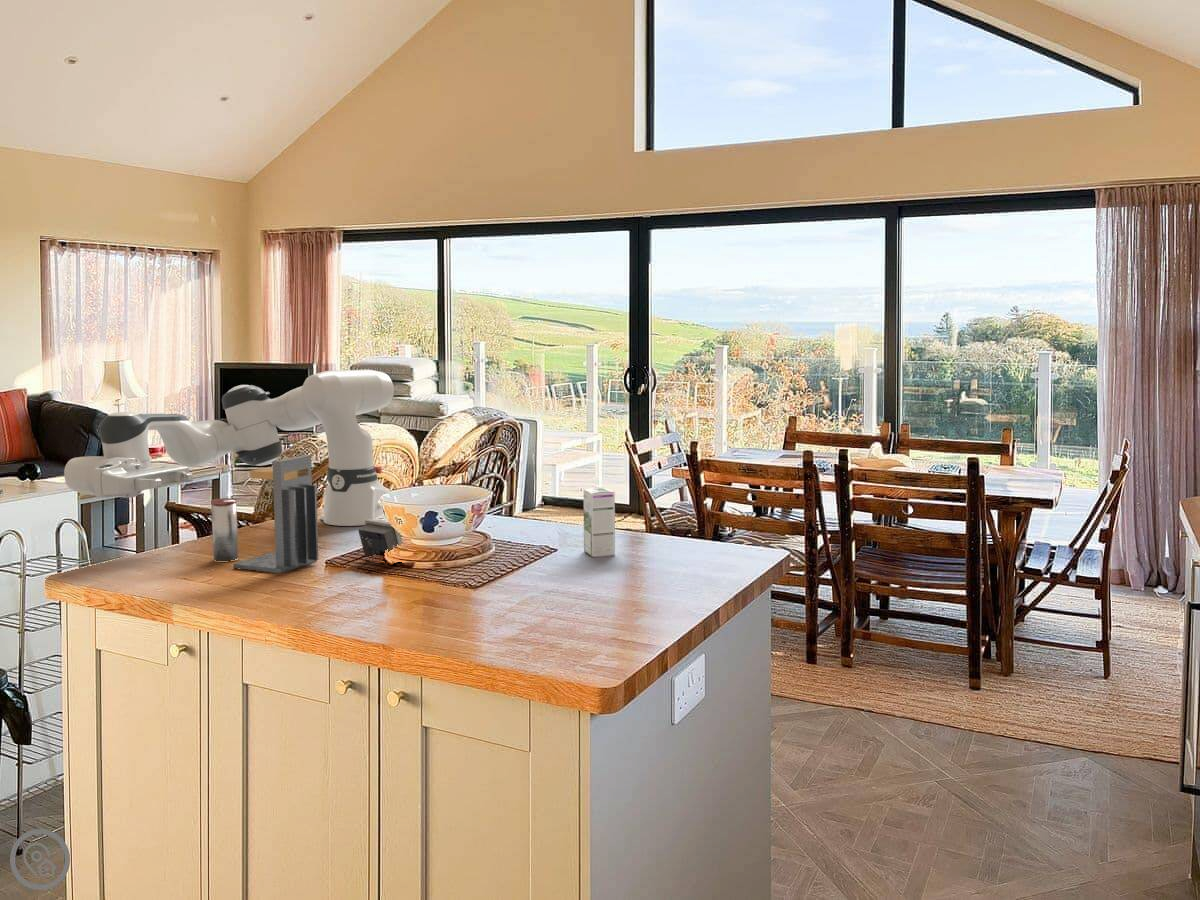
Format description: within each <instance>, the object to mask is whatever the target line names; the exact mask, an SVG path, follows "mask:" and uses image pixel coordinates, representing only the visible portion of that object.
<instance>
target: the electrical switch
mask: <svg viewBox="0 0 1200 900" xmlns="http://www.w3.org/2000/svg"><path fill="white" fill-rule="evenodd" d="M358 535H359V539H360V542H361V546H362V550H363V553H364V556H365V557H369V556H373V555H375V554H376V555H384V553H385V550H387V549H388V552H389V551H390V550H392V549H393V547H395V546H397V544H398V545H401V544H402V543H403V539H402V535H401V532H400V533H398V532H397V531H396V530H395V529H394V528H393V527H392V526H391V524H390V523H389V521H388V522H384V521H378V520H371V519H368V520H365V525H362V527H360V528H358ZM384 556H385V555H384ZM365 557H364V558H365Z"/></svg>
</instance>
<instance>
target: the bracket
mask: <svg viewBox="0 0 1200 900" xmlns="http://www.w3.org/2000/svg"><path fill="white" fill-rule="evenodd" d="M271 464H272V465H271V466H267V467H263V468H258V469H257V468H256V469H251V470H250V471H249V478H250V479H256V480H257V479H258V480H259V479H260V480H272V484H273V485H272V488H273V490H272V491H273V511H274V513H273V515H274V519H273V520H274V542H275V543H274V545H275V546H274V547H275V551H270V552H266V553H264V554H263V553H262V554H260V555H256V556H253V557H251V558H248V559H244V560H241V561H238V562H235V563H233V568H240V569H239V570H241V569H248V570H247V571H250V570H256V571H255V572H260V571H263V573H269V572H270V573H272V574H279V575H282V574H284V573H287V572H290V571H293V570H296V569H299V568H301V567H304V566H307V565H310V564H313V563H316V562H318V560H319V535H318V533H319V532H318V503H317V502H318V500H317V499H318V498H317V495H318V494H317V484H312V483H313V482H312V481H313V479H312V455H307V454H306V455H305V454H304V455H303V454H302V455H297V456H296V455H295V456H293V457H292V456H291V457H288V458H282V459H278V460H277V459H276V460H275V461H272V463H271Z"/></svg>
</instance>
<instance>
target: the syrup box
mask: <svg viewBox="0 0 1200 900" xmlns="http://www.w3.org/2000/svg"><path fill="white" fill-rule="evenodd" d="M615 494H616V493H615V491H613V490H612V489H609V488H607V487H591V488H585V489H583V552H584V553H586V554H587V555H589V556H591V557H592V558H596V557H600V558H601V557H602V558H603V557H612V556H616V508H615V506H616V505H615V502H616V501H615V496H616V495H615Z"/></svg>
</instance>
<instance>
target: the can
mask: <svg viewBox="0 0 1200 900" xmlns="http://www.w3.org/2000/svg"><path fill="white" fill-rule="evenodd" d="M237 501H238V500H237V498H232V497H230V498H228V497H226V498H225V497H224V498H216V499H212V500H210V505H211V507H210V508H211V523H212V524H211V527H212V528H211V529H212V546H213V547H212V548H213V550H212V551H213V561H214V560H216V561H231V560H235V559H237V558H238V559H239V539H238V515H237V511H238V510H237Z"/></svg>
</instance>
